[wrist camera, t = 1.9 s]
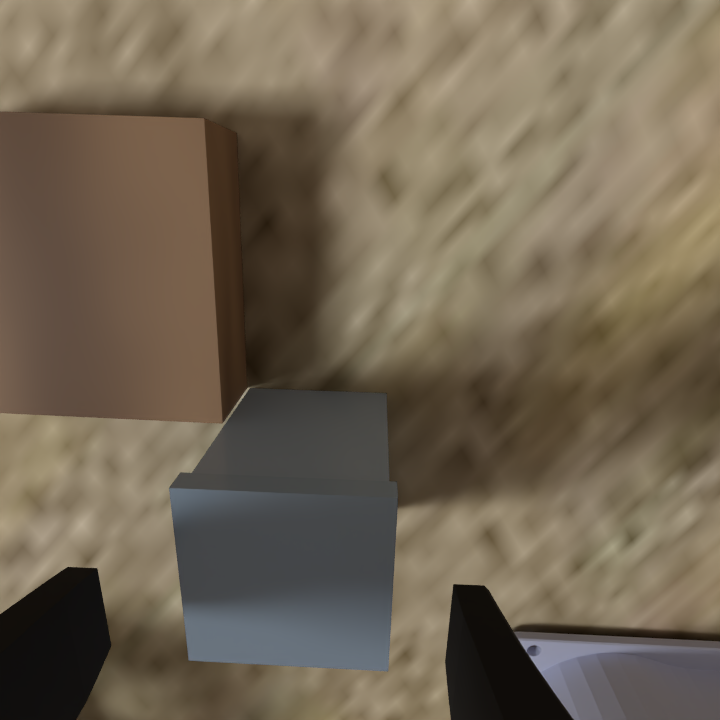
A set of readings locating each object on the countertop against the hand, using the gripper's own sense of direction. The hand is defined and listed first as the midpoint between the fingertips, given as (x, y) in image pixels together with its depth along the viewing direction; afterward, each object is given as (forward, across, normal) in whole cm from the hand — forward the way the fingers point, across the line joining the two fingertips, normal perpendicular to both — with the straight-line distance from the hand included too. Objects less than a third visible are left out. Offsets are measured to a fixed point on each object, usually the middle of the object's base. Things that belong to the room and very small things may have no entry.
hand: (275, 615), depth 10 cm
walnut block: (+7, +6, -6) cm, 11 cm away
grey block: (+7, 0, 0) cm, 7 cm away
